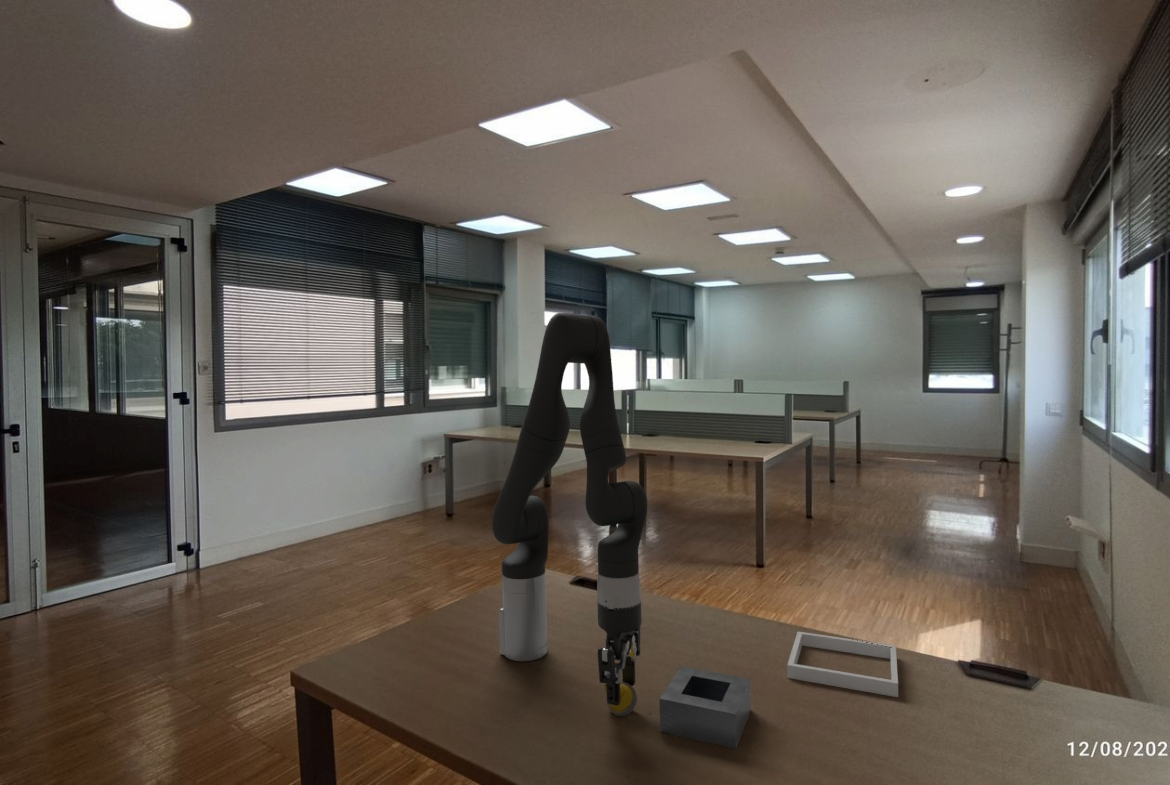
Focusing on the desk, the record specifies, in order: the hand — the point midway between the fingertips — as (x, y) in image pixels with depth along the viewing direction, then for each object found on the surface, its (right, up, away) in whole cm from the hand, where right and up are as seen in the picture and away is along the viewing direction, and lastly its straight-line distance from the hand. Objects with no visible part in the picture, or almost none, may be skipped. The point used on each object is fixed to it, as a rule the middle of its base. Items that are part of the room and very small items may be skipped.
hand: (621, 693), depth 108 cm
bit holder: (+14, -3, -2) cm, 15 cm away
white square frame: (+45, -2, +16) cm, 47 cm away
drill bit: (0, -4, 0) cm, 4 cm away
